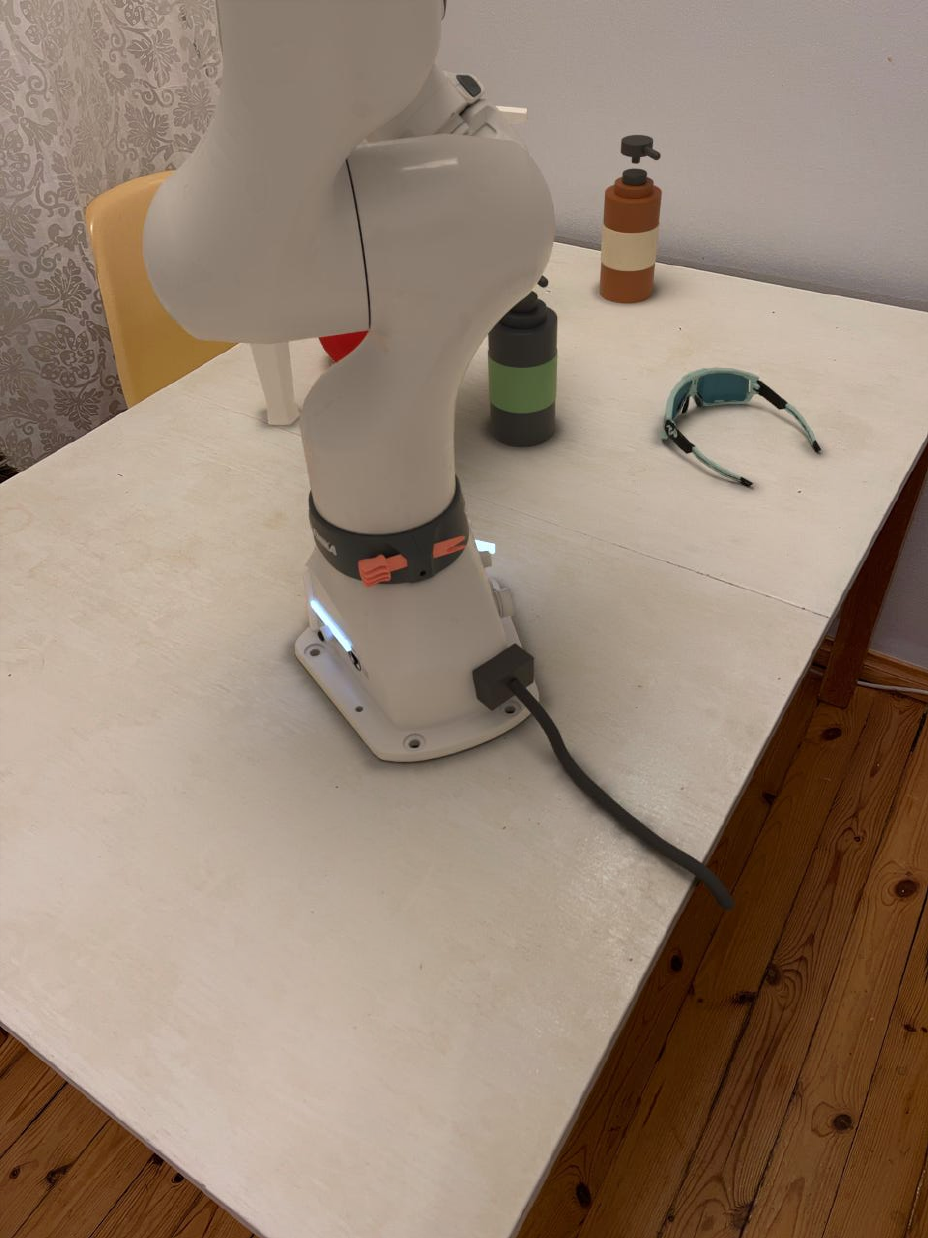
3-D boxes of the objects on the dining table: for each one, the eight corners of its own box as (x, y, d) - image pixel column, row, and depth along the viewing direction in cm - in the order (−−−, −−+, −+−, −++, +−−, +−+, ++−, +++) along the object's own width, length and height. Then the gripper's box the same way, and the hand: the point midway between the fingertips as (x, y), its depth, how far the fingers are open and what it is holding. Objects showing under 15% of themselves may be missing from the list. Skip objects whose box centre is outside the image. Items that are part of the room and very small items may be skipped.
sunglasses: (727, 387, 110) (738, 349, 106) (827, 460, 102) (843, 422, 98) (634, 429, 104) (642, 391, 101) (731, 509, 97) (744, 471, 93)
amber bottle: (663, 296, 128) (675, 175, 117) (615, 308, 126) (624, 186, 115) (635, 275, 132) (644, 158, 122) (589, 287, 131) (594, 168, 120)
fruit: (313, 377, 116) (299, 298, 109) (333, 341, 122) (322, 264, 116) (387, 381, 115) (379, 301, 108) (404, 344, 121) (397, 266, 114)
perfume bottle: (306, 405, 111) (284, 280, 101) (298, 426, 108) (274, 299, 98) (268, 405, 112) (242, 280, 101) (258, 426, 109) (230, 298, 98)
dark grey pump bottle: (567, 437, 104) (571, 302, 94) (507, 454, 102) (505, 318, 92) (537, 406, 109) (538, 274, 99) (479, 421, 107) (474, 289, 97)
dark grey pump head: (671, 171, 115) (673, 148, 113) (643, 177, 114) (645, 154, 112) (641, 155, 120) (642, 132, 118) (614, 160, 119) (615, 137, 117)
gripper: (392, 136, 79) (507, 267, 82) (481, 69, 92) (576, 184, 96) (350, 188, 83) (461, 310, 87) (441, 116, 97) (533, 224, 101)
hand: (522, 243), depth 92 cm, fingers closed
